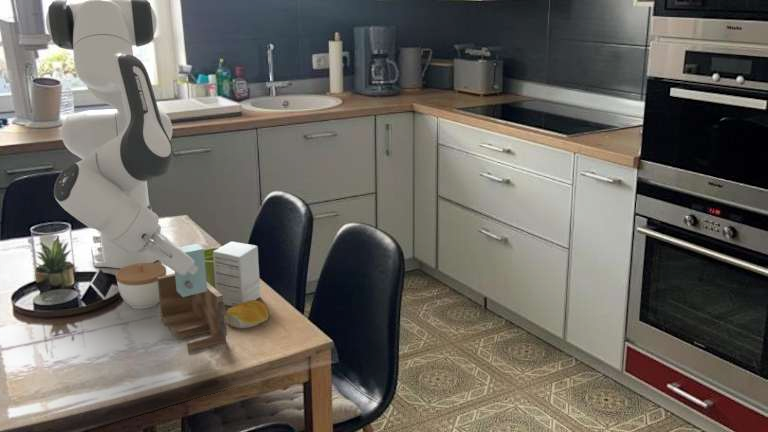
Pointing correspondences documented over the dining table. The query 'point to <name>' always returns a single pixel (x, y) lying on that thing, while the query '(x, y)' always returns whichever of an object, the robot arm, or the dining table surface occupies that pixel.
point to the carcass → (192, 313)
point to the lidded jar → (140, 284)
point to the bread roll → (247, 314)
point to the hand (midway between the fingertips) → (190, 266)
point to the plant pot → (210, 265)
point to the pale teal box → (196, 281)
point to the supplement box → (237, 272)
